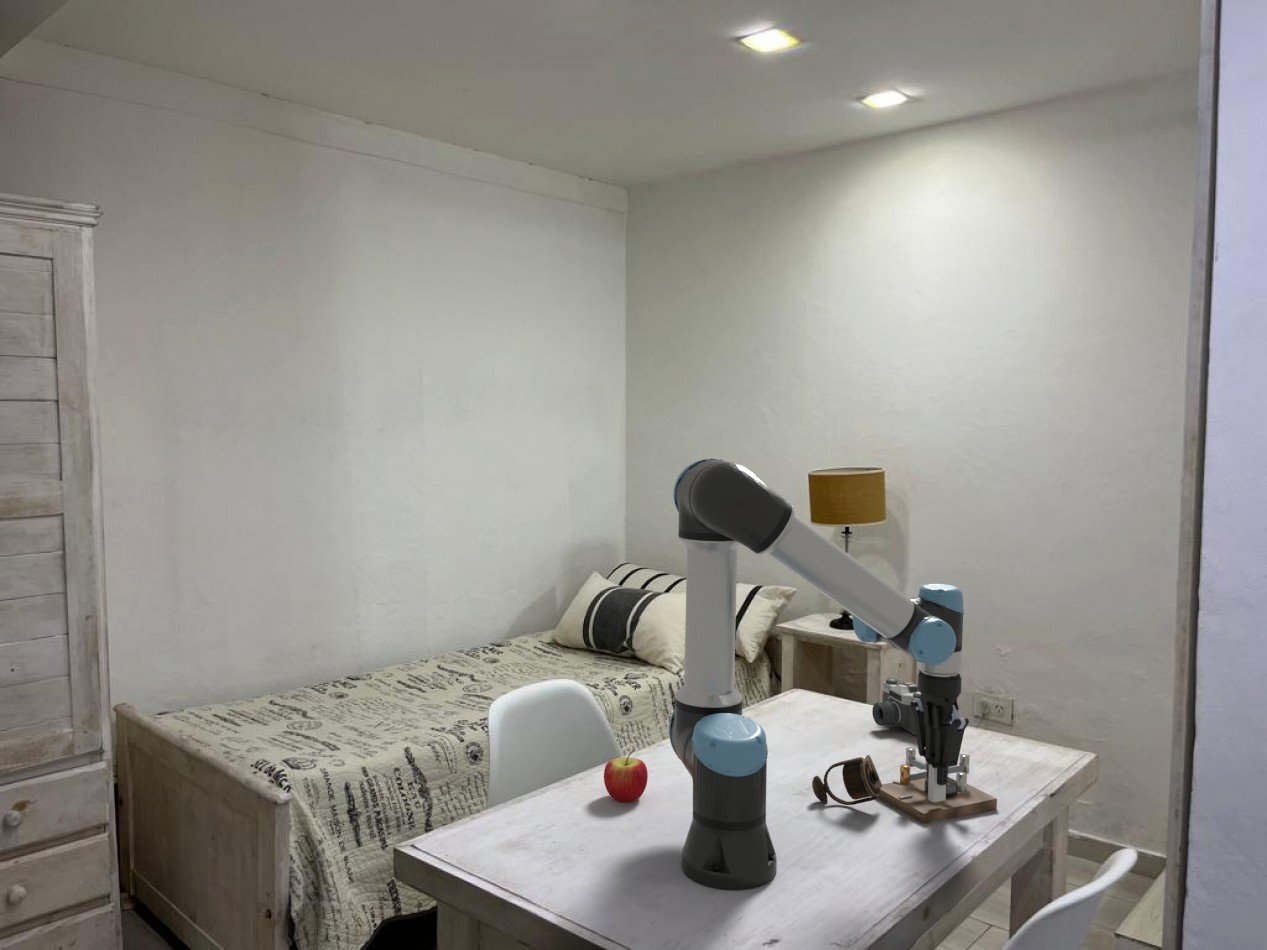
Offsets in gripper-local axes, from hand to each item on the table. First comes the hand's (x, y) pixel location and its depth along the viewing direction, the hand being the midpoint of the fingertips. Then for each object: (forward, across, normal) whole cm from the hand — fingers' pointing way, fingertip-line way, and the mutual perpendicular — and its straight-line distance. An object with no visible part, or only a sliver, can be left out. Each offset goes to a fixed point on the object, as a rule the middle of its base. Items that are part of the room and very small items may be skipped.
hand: (936, 799), depth 175 cm
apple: (+4, +30, +49) cm, 57 cm away
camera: (+4, +45, -26) cm, 53 cm away
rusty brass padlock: (+4, +10, +12) cm, 16 cm away
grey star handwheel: (+1, +6, -4) cm, 7 cm away
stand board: (+3, +6, -4) cm, 8 cm away
